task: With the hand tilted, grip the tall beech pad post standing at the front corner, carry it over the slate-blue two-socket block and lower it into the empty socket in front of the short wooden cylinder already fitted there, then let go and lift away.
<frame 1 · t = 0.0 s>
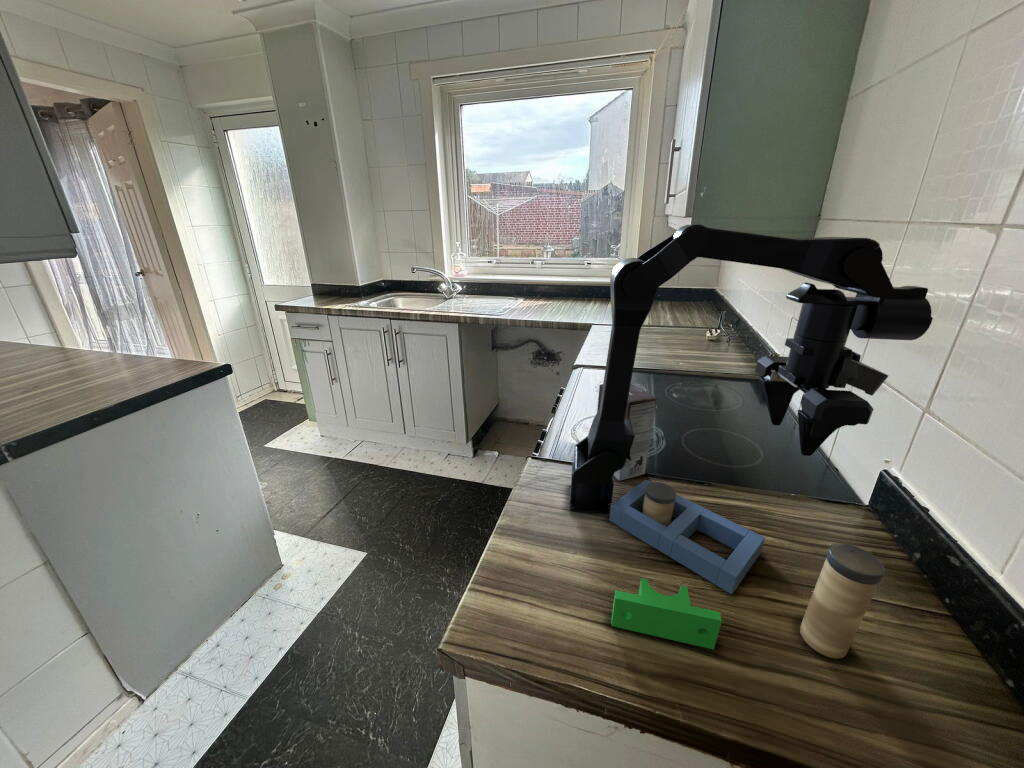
hand: (789, 438, 60), 15 cm above the counter, tool pointing down, fingers open, 9 cm apart
short wooden cylinder: (655, 522, 64), resting in socket block
coffee box: (617, 466, 79), on the counter
socket block: (680, 536, 61), on the counter
pipe clamp: (660, 625, 48), on the counter
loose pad: (822, 639, 46), on the counter
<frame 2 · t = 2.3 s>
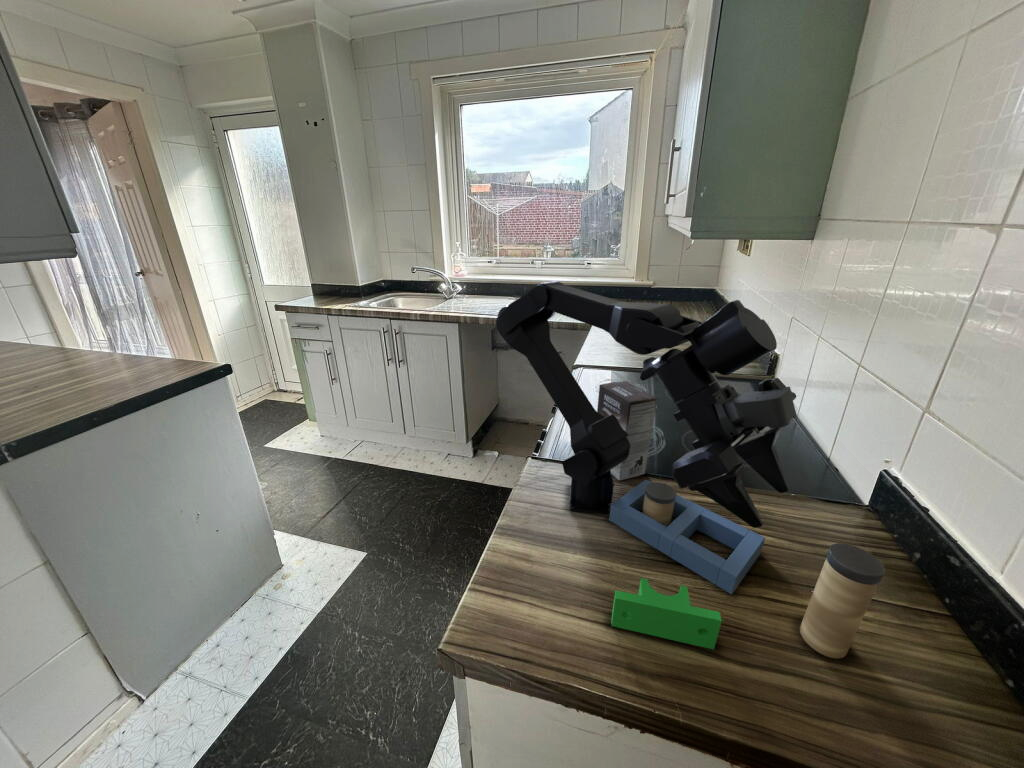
hand: (772, 508, 47), 13 cm above the counter, tool tilted 45°, fingers open, 9 cm apart
nothing on the counter moved.
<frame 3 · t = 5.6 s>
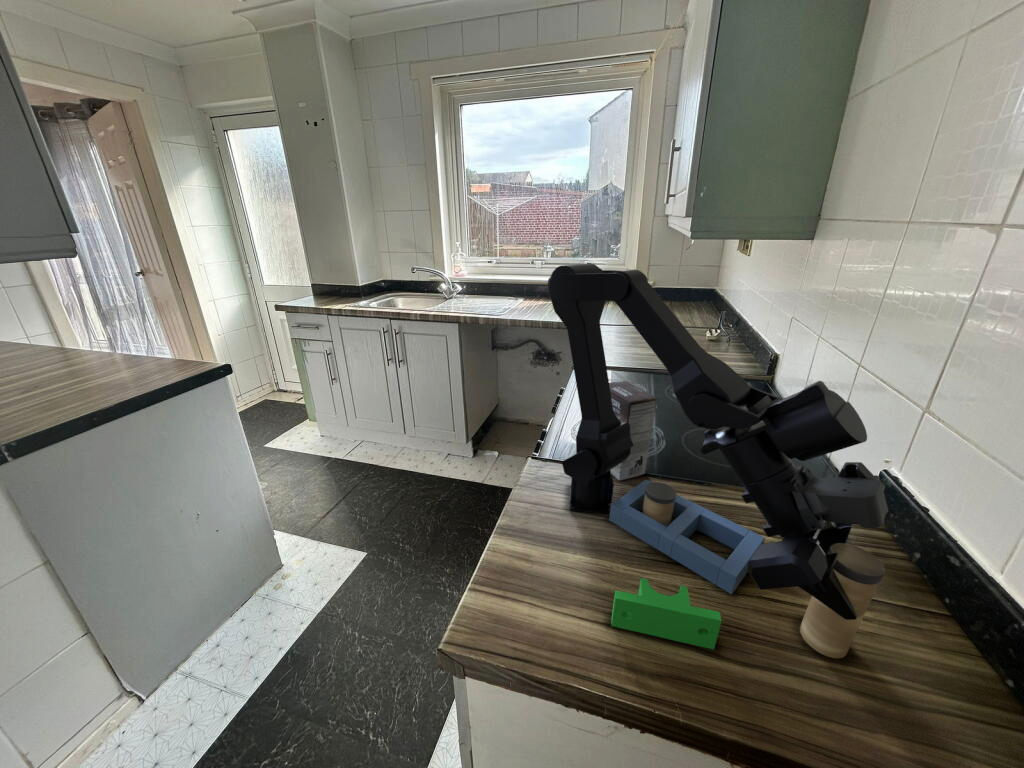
hand: (856, 605, 43), 7 cm above the counter, tool tilted 45°, fingers closed on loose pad, 4 cm apart
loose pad: (822, 639, 46), on the counter, touching gripper
everything else where it was.
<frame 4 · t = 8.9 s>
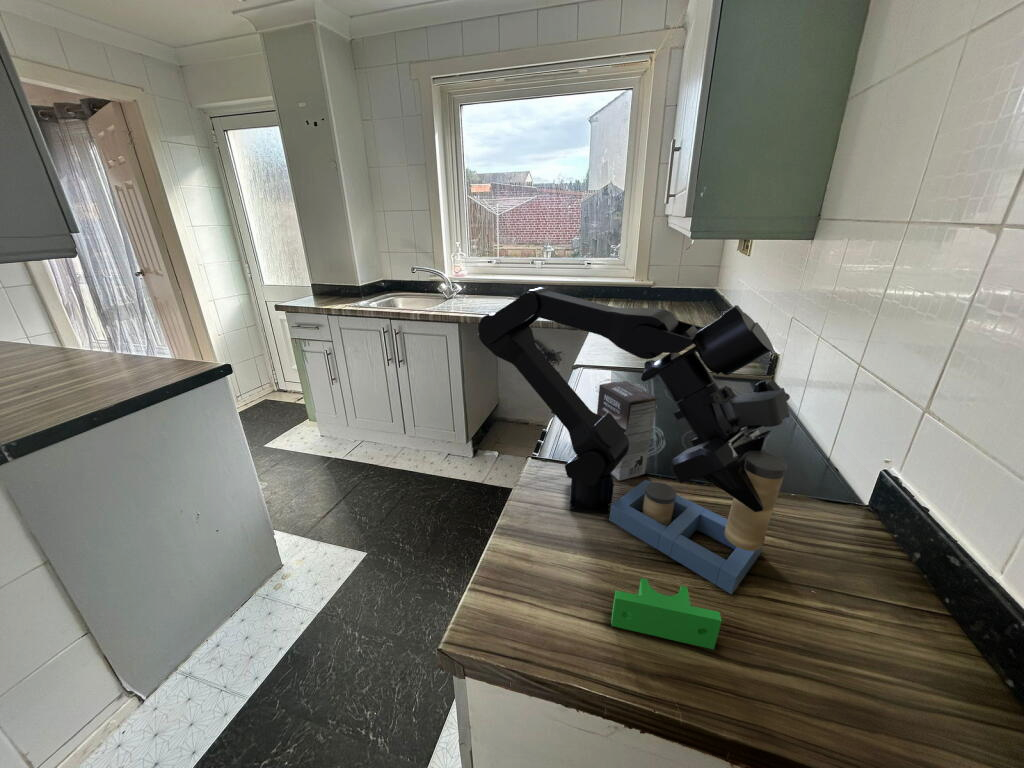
hand: (766, 502, 49), 12 cm above the counter, tool tilted 45°, fingers closed on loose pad, 4 cm apart
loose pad: (742, 538, 53), point 6 cm above the counter, touching gripper
everything else where it was.
when the fingers open (7 cm above the counter, at t = 12.5 s): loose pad stays where it is, resting in socket block.
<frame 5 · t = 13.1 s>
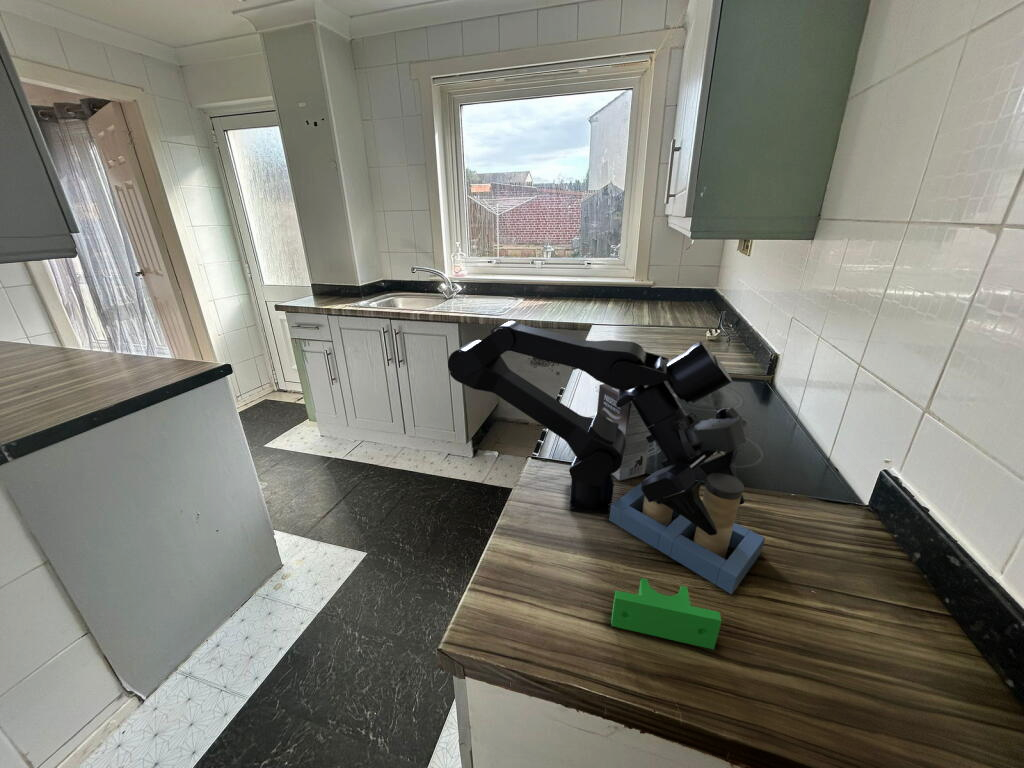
hand: (728, 518, 55), 7 cm above the counter, tool tilted 45°, fingers open, 9 cm apart
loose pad: (708, 551, 58), resting in socket block
everything else where it was.
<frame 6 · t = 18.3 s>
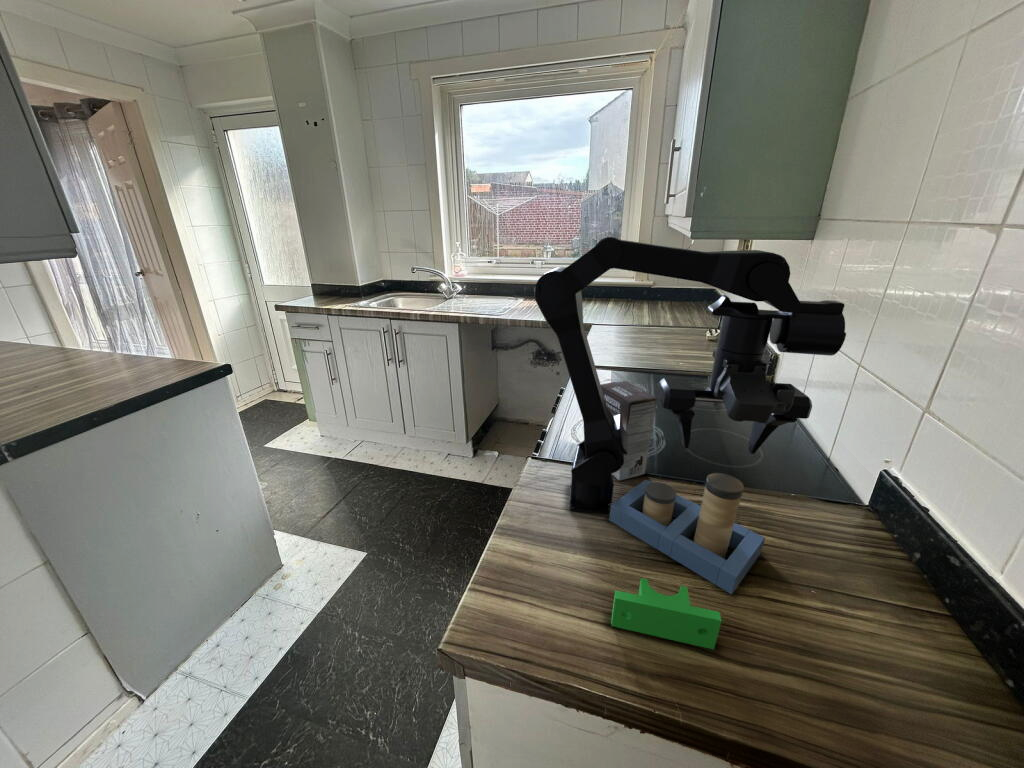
hand: (718, 449, 60), 13 cm above the counter, tool pointing down, fingers open, 9 cm apart
nothing on the counter moved.
at the end: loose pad 0.0 cm from the target spot, resting in socket block; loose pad tilted 0°; the gripper is holding nothing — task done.
